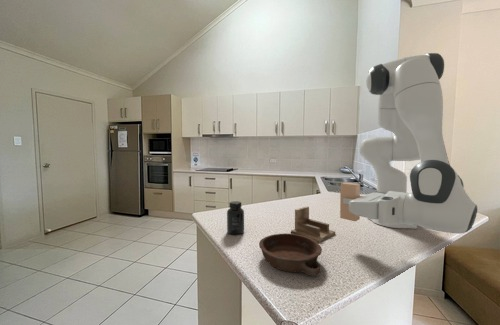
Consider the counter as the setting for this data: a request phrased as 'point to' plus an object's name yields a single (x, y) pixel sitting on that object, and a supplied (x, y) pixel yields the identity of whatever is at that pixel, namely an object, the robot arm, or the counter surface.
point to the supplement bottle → (235, 218)
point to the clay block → (353, 193)
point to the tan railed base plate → (310, 226)
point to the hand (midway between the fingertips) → (347, 199)
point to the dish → (292, 253)
